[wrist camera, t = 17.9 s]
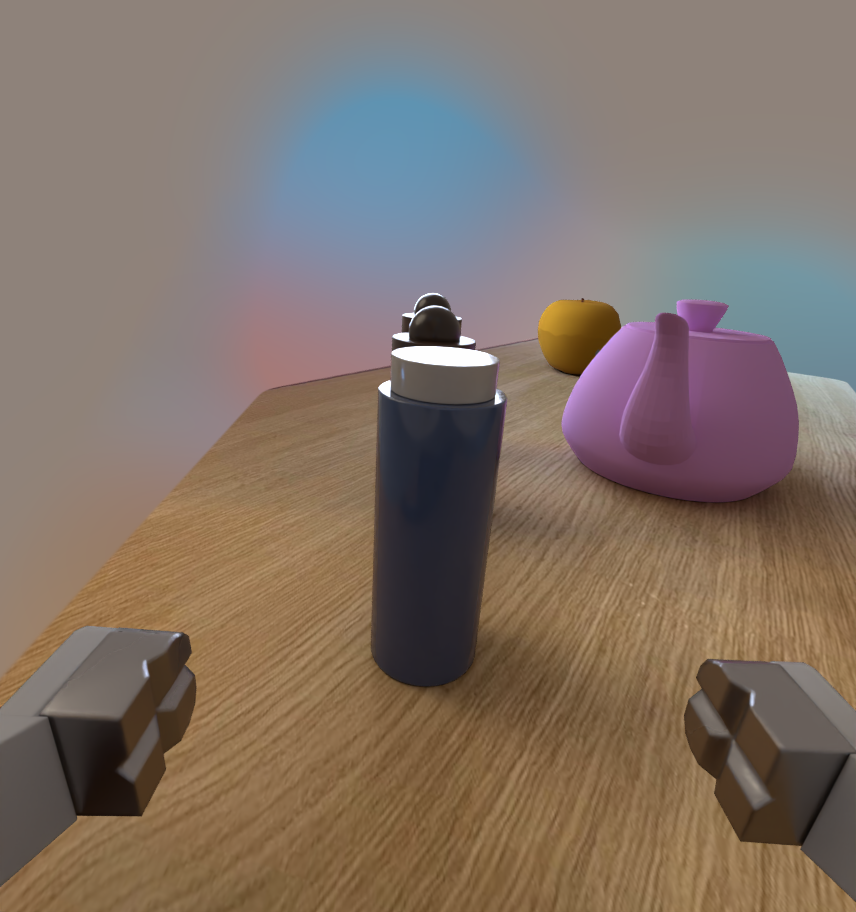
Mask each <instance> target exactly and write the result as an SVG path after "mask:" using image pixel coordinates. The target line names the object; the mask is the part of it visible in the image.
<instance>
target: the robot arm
mask: <svg viewBox="0 0 856 912" xmlns="http://www.w3.org/2000/svg"><path fill="white" fill-rule="evenodd" d="M191 653H192V651H191V645H190V640H189V636H188V635H186V634H184V633H183V632H170V631H157V630H144V629H130V628H107V627H95V626H85V627H83V628H80V629H78V630H76V631H75V632H73V633H72V634H71V636H70V637H69V638H68V639H67V640H66V641H65V642H64V643H63V644H62V645H61V646H60V647H59V648H58V649H57V650H56V651H55V652H54V653H53V654H52V655H51V656H50V657H49V658H48V659H47V660H46V661H45V662H44V663H43V665H42V666H41V667H40V668H39V669H38V670H37V671H36V672H35V673H34V674H33V675H32V676H31V677H30V678H29V679H28V680H27V681H26V682H25V683H24V684H23V685H22V686H21V687H20V688H19V689H18V690H17V691H16V692H15V693H14V695H13V696H12V697H11V698H10V699H9V700H8V701H7V702H6V703H5V704H4V705H3V706H2V707H1V708H0V887H1V886H2V885H3V884H4V883H5V882H7V881H8V880H9V879H10V878H11V877H12V876H13V875H15V874H16V873H17V872H18V871H19V870H20V869H21V868H23V867H24V866H25V865H26V864H27V863H28V862H29V861H31V860H32V859H33V858H34V857H35V856H36V855H37V854H39V853H40V852H41V851H42V850H43V849H44V848H45V847H47V846H48V845H49V844H50V843H51V842H52V841H53V840H55V839H56V838H57V837H58V836H59V835H60V834H61V833H63V832H64V831H65V830H66V829H67V828H68V827H69V826H71V825H72V824H73V823H74V822H75V821H76V820H77V816H142V815H143V813H144V811H145V809H146V807H147V805H148V803H149V801H150V799H151V797H152V796H153V794H154V792H155V790H156V788H157V786H158V784H159V782H160V780H161V778H162V776H163V774H164V773H165V771H166V766H165V760H164V753H165V752H167V751H168V750H169V749H171V748H172V747H173V746H175V745H176V744H177V743H179V742H180V741H181V740H182V738H183V735H184V733H185V731H186V729H187V727H188V725H189V723H190V720H191V716H192V713H193V709H194V706H195V701H196V679H195V675H194V674H193V672H192V671H191V670H190V669H189V668H188V667H187V666H186V665H185V664H186V662H187V660H188V658H189V657H190V655H191ZM696 679H697V681H698V683H699V685H700V686H701V688H702V689H701V690H700V691H698V692H697V693H696V694H695V695H693V696H692V697H691V698H690V699H689V700H688V703H687V707H686V710H685V714H684V721H685V734H686V737H687V740H688V743H689V746H690V749H691V751H692V753H693V755H694V757H695V759H696V761H697V763H698V765H700V766H701V767H702V768H703V769H704V770H706V771H707V772H708V773H709V774H710V775H712V776H713V777H714V778H715V779H716V785H715V791H714V794H715V796H716V798H717V800H718V802H719V803H720V805H721V807H722V809H723V811H724V813H725V814H726V816H727V818H728V820H729V822H730V824H731V825H732V827H733V829H734V831H735V833H736V834H737V836H738V838H739V840H740V841H741V842H755V843H768V844H782V845H795V846H802V847H801V850H802V851H803V852H804V853H805V854H806V855H807V856H808V857H809V858H810V859H811V860H812V861H813V862H814V863H815V864H816V865H817V866H819V867H820V868H821V869H822V870H823V871H824V872H825V873H826V874H827V875H828V876H829V877H830V878H831V879H832V880H833V881H834V882H835V883H836V884H837V885H839V886H840V887H841V888H842V889H843V890H844V891H845V892H846V893H847V894H848V895H849V896H850V897H851V898H852V899H853V900H854V901H855V902H856V711H855V710H854V709H853V708H852V707H851V706H850V705H849V704H848V702H847V701H846V700H845V699H844V698H843V697H842V696H841V695H840V694H839V693H838V692H837V691H836V690H835V689H834V688H833V687H832V686H831V685H830V684H829V683H828V682H827V681H826V680H825V679H824V678H823V676H822V675H821V674H820V673H819V672H818V671H817V670H816V669H814V668H813V667H811V666H809V665H807V664H806V663H804V662H777V661H771V662H765V661H742V660H719V659H707V660H706V661H705V662H704V663H703V664H702V665H700V668H699V671H698V674H697V676H696Z"/></svg>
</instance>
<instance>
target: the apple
mask: <svg viewBox="0 0 856 912" xmlns="http://www.w3.org/2000/svg"><path fill="white" fill-rule="evenodd" d="M620 329H621V324H620V320H619V315H618V313H617V312H616V311H615V309H614V308H613V307H612V306H610V305H608V304H606V303H603V302H597V301H591V300H584V299H583V298H582V300H559V301H556V302H554V303H552V304H551V305H550V306H548V307H547V308H546V310H545V311H544V312H543V314H542V316H541V318H540V321H539V327H538V339H539V343H540V346H541V349H542V352H543V354H544V356H545V358H546V360H547V361H548V363H549V364H550V365H551V366H552V367H554V368H556V369H558V370H561V371H563V372H565V373H568V374H575V375H582V373H583V372H584V370H585V369H586V368H587V366H588V365H589V364H590V362H591V361H592V360H593V359H594V357H595V353H596V352H597V350H601V349H602V348H603V347H604V346H605V345H606V344H607V342H608V341H609V340H610V339H611V338H612V337H613V336H614V335H615V334H616V333H617V332H618V331H619V330H620Z"/></svg>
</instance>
